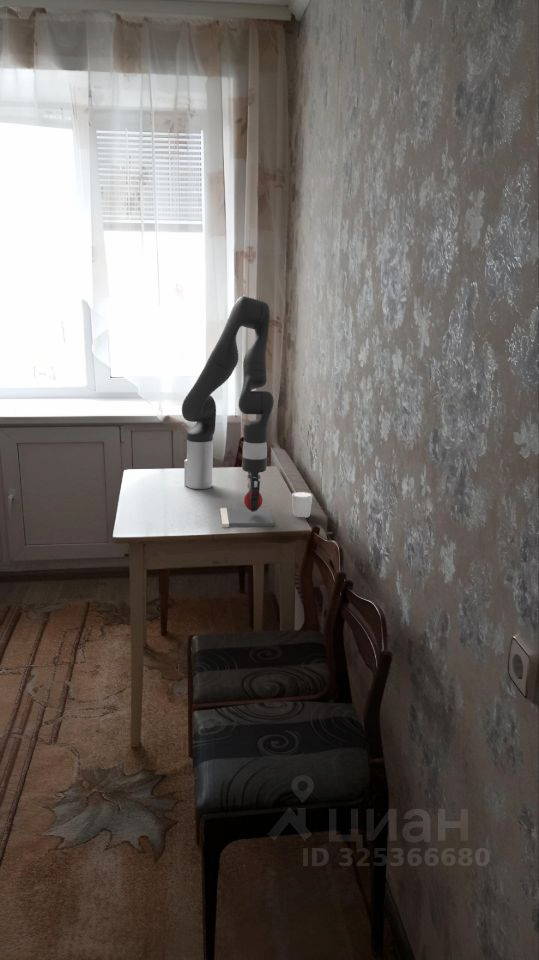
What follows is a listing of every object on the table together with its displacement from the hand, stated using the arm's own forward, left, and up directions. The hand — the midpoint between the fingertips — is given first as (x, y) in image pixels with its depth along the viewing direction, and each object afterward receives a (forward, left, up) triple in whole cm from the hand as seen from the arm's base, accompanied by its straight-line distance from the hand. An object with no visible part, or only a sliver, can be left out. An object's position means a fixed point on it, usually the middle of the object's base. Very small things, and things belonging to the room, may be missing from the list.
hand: (253, 506), depth 236 cm
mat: (-1, -1, -4) cm, 4 cm away
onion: (0, 0, -2) cm, 2 cm away
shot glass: (+11, +13, -4) cm, 17 cm away
